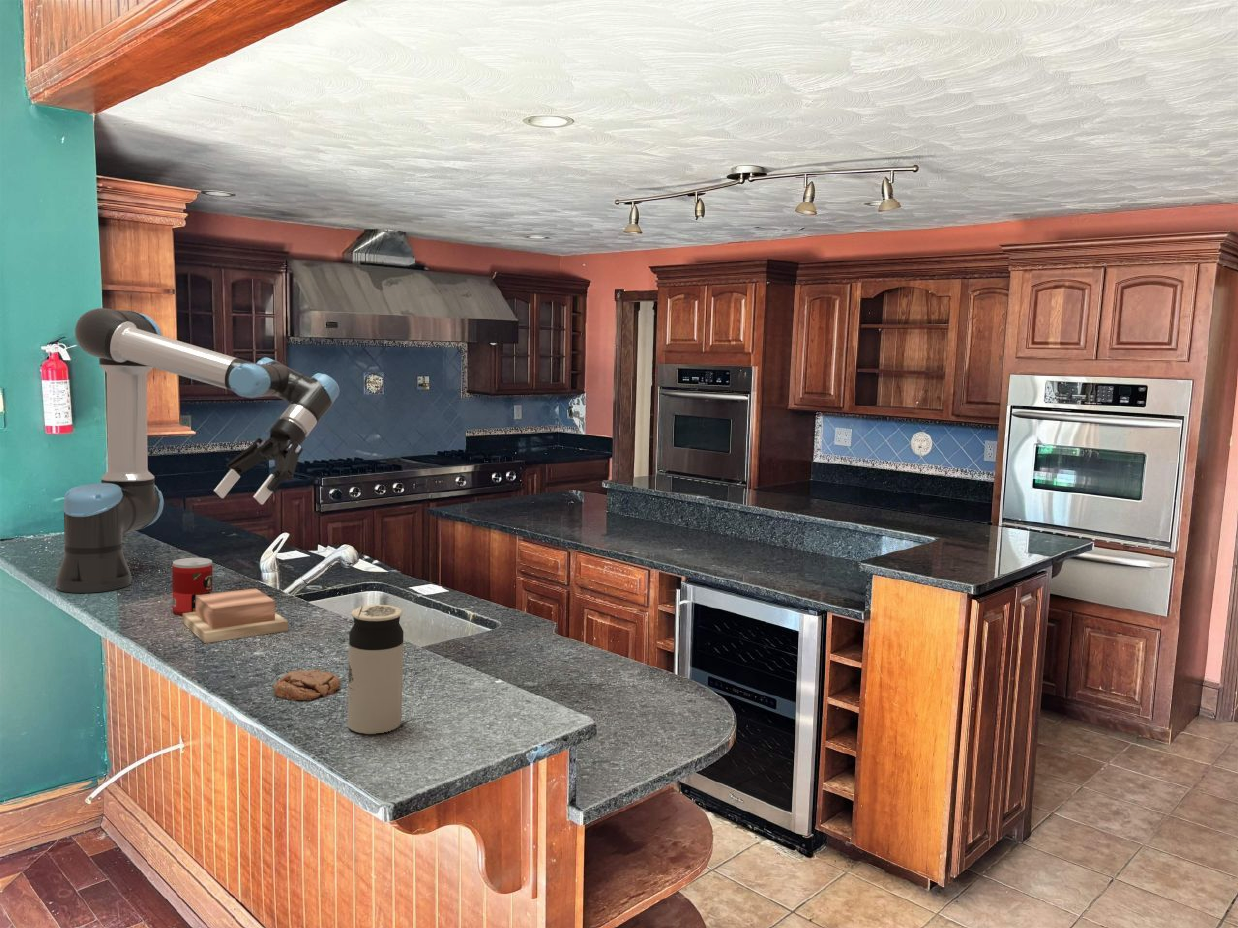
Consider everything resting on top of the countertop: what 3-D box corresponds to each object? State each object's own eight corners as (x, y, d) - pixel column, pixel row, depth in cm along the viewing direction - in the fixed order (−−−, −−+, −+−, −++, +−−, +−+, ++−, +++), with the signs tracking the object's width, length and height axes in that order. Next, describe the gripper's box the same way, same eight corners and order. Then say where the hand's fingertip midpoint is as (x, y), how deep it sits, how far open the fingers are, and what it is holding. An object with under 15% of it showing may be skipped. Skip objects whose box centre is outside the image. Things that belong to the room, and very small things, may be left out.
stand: (182, 622, 184) (182, 594, 183) (261, 612, 194) (262, 585, 194) (204, 643, 172) (204, 612, 171) (288, 630, 182) (288, 602, 181)
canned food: (197, 617, 188) (197, 566, 187) (164, 613, 190) (163, 563, 188) (220, 608, 196) (220, 559, 194) (188, 605, 197) (188, 556, 196)
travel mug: (406, 716, 141) (408, 605, 139) (395, 736, 133) (397, 619, 131) (355, 714, 141) (357, 603, 139) (341, 734, 133) (343, 617, 131)
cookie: (350, 693, 151) (350, 675, 150) (289, 707, 143) (289, 689, 143) (322, 676, 158) (323, 660, 157) (263, 690, 150) (263, 672, 150)
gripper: (338, 442, 207) (285, 514, 196) (267, 435, 219) (213, 502, 208) (320, 420, 202) (265, 492, 190) (248, 414, 214) (191, 481, 203)
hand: (237, 497), depth 199 cm, fingers open, 13 cm apart
